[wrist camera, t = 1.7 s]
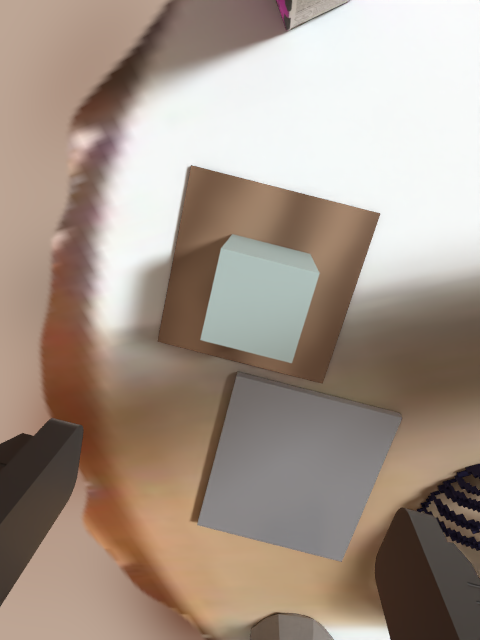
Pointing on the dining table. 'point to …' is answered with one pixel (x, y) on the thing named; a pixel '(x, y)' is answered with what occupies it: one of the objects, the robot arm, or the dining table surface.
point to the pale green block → (260, 298)
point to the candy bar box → (304, 10)
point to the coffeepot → (289, 628)
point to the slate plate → (295, 466)
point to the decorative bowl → (461, 499)
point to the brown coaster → (274, 228)
